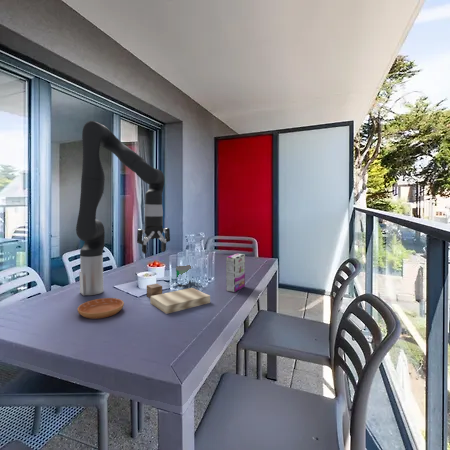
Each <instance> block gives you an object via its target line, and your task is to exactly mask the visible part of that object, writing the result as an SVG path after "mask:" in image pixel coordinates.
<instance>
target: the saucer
mask: <svg viewBox="0 0 450 450" xmlns="http://www.w3.org/2000/svg"><path fill="white" fill-rule="evenodd" d="M124 305H125V303H124V301H123V300H122V299H120V298H116V297H115V298H114V297H103V298H101V297H100V298H97V299H92V300H88V301H86V302H83V303H81V304H79V306H78V307H77V313H78V314H79V315H80V316H82V317H83V318H86V319H90V320H91V319H93V320H95V319H96V320H98V319H103V318H109V317H112V316H115V315H116V314H118V313H119V312H120V311H121V310H122V309H123V308H124Z"/></svg>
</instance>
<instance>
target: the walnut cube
mask: <svg viewBox="0 0 450 450" xmlns="http://www.w3.org/2000/svg"><path fill="white" fill-rule="evenodd" d="M159 294H163V285H161V284H159V283H152V284H147V285H146V297H148V298H149V299H150V296H154V295H159Z"/></svg>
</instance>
